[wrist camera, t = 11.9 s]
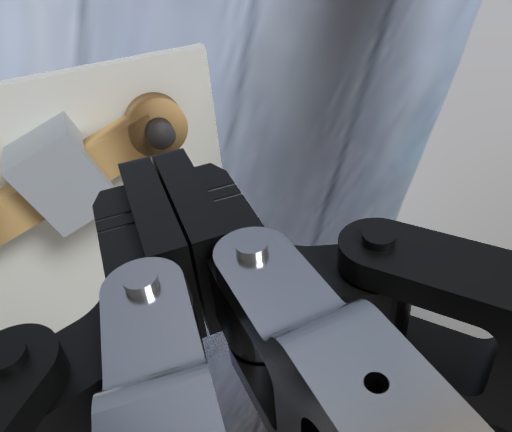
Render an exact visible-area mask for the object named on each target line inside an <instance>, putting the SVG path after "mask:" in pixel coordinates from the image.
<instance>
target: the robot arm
mask: <svg viewBox="0 0 512 432" xmlns="http://www.w3.org/2000/svg"><path fill="white" fill-rule="evenodd" d="M152 162H153V163H152ZM118 167H119V171H120V175H121V178H122V181H123V185H122V186H118V187H114V188H110V189H106V190H102V191H100V192H99V194H98V195H97V197H96V199H95V201H94V203H93V205H92V208H93V213H94V219H95V224H96V230H97V234H98V241H99V247H100V252H101V258H102V263H103V269H104V274H105V280H104V282H103V283H102V285H101V288H100V292H99V301H98V303H97V304H96V305H95V306H94V307H93V308H92V309H91V310H90V311H89V312H88V313H87V314H85V315H84V316H83V317H82V318H80V319H78V320H77V321H75V322H74V323H72V324H70V325H68V326H67V327H65V328H63V329H62V330H60V331H58V332H56V333H54V332H53V331H52V330H51V329H50V328H48V327H47V326H44V325H41V324H35V323H25V324H19V325H15V326H11V327H8V328H5V329H3V330H0V432H225V428H224V424H223V420H222V416H221V413H220V409H219V405H218V401H217V397H216V393H215V390H214V386H213V382H212V378H211V374H210V371H209V367H208V363H207V360H206V355H205V350H204V346H203V341H202V338H204V337H207V333H206V328H205V324H204V320H205V323H206V325H207V328H208V330H209V333H210V335H212V334H215V333H218V332H220V331H223V333H224V335H225V338H226V340H227V342H228V347H229V352H230V358H231V362H232V365H233V367H234V369H235V371H236V373H237V374H238V376H239V378H240V380H241V382H242V384H243V386H244V388H245V390H246V392H247V393H248V395H249V397H250V399H251V401H252V403H253V405H254V407H255V409H256V410H257V412H258V414H259V416H260V418H261V420H262V422H263V424H264V426H265V428H266V429H267V431H268V432H512V250H508V249H504V248H500V247H496V246H492V245H488V244H484V243H481V242H477V241H473V240H468V239H465V238H461V237H457V236H453V235H449V234H445V233H441V232H437V231H433V230H429V229H425V228H422V227H418V226H414V225H410V224H406V223H402V222H398V221H394V220H390V219H385V218H365V219H361V220H357V221H354V222H352V223H350V224H348V225H347V226H346V227H344V228H343V230H342V231H341V232H340V234H339V237H338V244H335V245H322V246H297V245H293V244H292V243H291V242H290V241H289V239H288V238H287V237H286V236H285V235H283V234H282V233H280V232H279V231H276V230H274V229H271V228H266V227H264V226H263V224H262V223H261V221H260V220H259V218H258V217H257V215H256V214H255V212H254V211H253V209H252V208H251V206H250V205H249V204H248V202H247V201H246V199H245V198H244V196H243V195H241V192H240V190H239V189H238V187H237V186H236V185H235V184H234V182H233V180H232V179H231V177H230V176H229V174H228V173H227V171H226V170H224V169H222V168H220V167H218V166H216V165H214V164H212V163H208V164H204V165H200V166H196V167H194V166H193V164H192V162H191V160H190V159H189V157H188V155H187V154H186V152H185V150H184V149H183V148H181V149H177V150H173V151H169V152H164V153H160V154H156V155H152V161H151V158H150V157H149V156H148V157H144V158H140V159H136V160H132V161H128V162H124V163H120V164H118ZM411 305H414V306H417V307H420V308H423V309H426V310H429V311H432V312H435V313H438V314H441V315H444V316H447V317H450V318H453V319H456V320H459V321H462V322H465V323H468V324H471V325H474V326H477V327H480V328H482V329H484V330H486V331H488V332H489V333H490V334H491V335H492V336H493V338H489V339H480V338H476V337H472V336H470V335H467V334H464V333H461V332H458V331H455V330H452V329H449V328H446V327H443V326H440V325H437V324H435V323H431V322H429V321H426V320H423V319H420V318H417V317H414V316H411V315H410V311H411ZM203 318H204V319H203Z"/></svg>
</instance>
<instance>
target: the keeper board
mask: <svg viewBox="0 0 512 432" xmlns="http://www.w3.org/2000/svg"><path fill="white" fill-rule="evenodd" d="M149 92H158V93H163V94H165V95H167V96H169V97H171V98H172V99H173V100H174V101H175V102H176V103H177V105H178V106H179V108H180V109H181V111H182V112H183V114H184V115H185V117H186V119H187V123H188V134H187V137H186V140H185V142H184V143H183V145H182V146H181V147H180V148H179V149H181V148H183V149H184V150H185V152H186V154H187V155H188V157H189V159H190V160H191V162H192V164H193V166H194V167H196V166H200V165H204V164H208V163H212V164H214V165H216V166H218V167H220V168H222V163H221V155H220V148H219V141H218V134H217V126H216V119H215V112H214V105H213V97H212V90H211V83H210V76H209V68H208V61H207V54H206V47H205V46H204V45H203V44H202V43H198V44H192V45H187V46H182V47H176V48H171V49H166V50H160V51H155V52H150V53H144V54H139V55H134V56H128V57H123V58H118V59H112V60H107V61H102V62H96V63H91V64H86V65H80V66H75V67H70V68H64V69H59V70H54V71H48V72H43V73H38V74H32V75H27V76H22V77H16V78H11V79H6V80H0V188H2V187H3V186H5V185H7V184H8V183H9V184H10V185H12V186H13V187H14V188H15V189H16V190H17V191H18V192H19V193H20V194H21V195H22V196H23V197H24V198H25V199H26V200H27V201H28V202H29V203H30V204H31V205H32V206H33V207H34V208H35V209H36V210H37V211H38V212H39V213H40V214H41V215H42V216H43V217H44V218H45V220H44V221H42V222H40V223H39V224H37V225H35V226H34V227H32V228H30V229H29V230H27V231H25V232H24V233H22V234H20V235H19V236H17V237H15V238H14V239H12V240H10V241H8V242H7V243H5V244H3V245H2V246H0V330H3V329H5V328H8V327H11V326H15V325H19V324H25V323H35V324H41V325H44V326H47V327H48V328H50V329H51V330H52V331H53V332H54V333H56V332H58V331H60V330H62V329H63V328H65V327H67V326H68V325H70V324H72V323H74V322H75V321H77V320H78V319H80V318H82V317H83V316H84V315H85V314H87V313H88V312H89V311H90V310H91V309H92V308H93V307H94V306H95V305H96V304H97V303H98V301H99V292H100V288H101V285H102V283H103V282H104V280H105V274H104V269H103V263H102V258H101V252H100V247H99V241H98V234H97V230H96V224H95V219H94V213H93V208H92V205H93V203H94V201H95V199H96V197H97V195H98V194H99V192H100V191H102V190H106V189H110V188H114V187H118V186H122V185H123V181H122V178H121V175H119V176H118V177H116V178H114V179H113V180H111V181H110V180H109V179H108V178H107V176H106V175H105V174H104V173H103V171H102V170H101V169H100V168H99V167H98V165H97V164H96V163H95V162H94V160H93V159H92V158H91V157H90V156H89V154H88V153H87V152H86V151H85V149H84V144H83V139H85V138H86V137H88V136H90V135H92V134H93V133H95V132H97V131H98V130H100V129H102V128H103V127H105V126H107V125H109V124H110V123H112V122H114V121H115V120H117V119H119V118H120V117H122V116H124V115H125V111H126V109H127V107H128V105H129V104H130V103H131V102H132V101H133V100H134V99H135V98H136V97H138V96H140V95H142V94H145V93H149ZM150 158H151V161H152V157H150ZM152 163H153V162H152Z"/></svg>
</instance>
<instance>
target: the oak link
mask: <svg viewBox="0 0 512 432" xmlns="http://www.w3.org/2000/svg"><path fill="white" fill-rule="evenodd" d="M187 134H188V123H187V119H186V117H185V115H184V114H183V112H182V111H181V109H180V108H179V106H178V105H177V103H176V102H175V101H174V100H173V99H172V98H171V97H169V96H167V95H165V94H163V93H158V92H149V93H145V94H142V95H140V96H138V97H136V98H135V99H134V100H133V101H132V102H131V103H130V104H129V105H128V107H127V109H126V111H125V115H124V116H122V117H120V118H119V119H117V120H115V121H114V122H112V123H110V124H109V125H107V126H105V127H103V128H102V129H100V130H98V131H97V132H95V133H93V134H92V135H90V136H88V137H86V138H85V139H83V144H84V149H85V151H86V152H87V153H88V154H89V156H90V157H91V158H92V159H93V160H94V162H95V163H96V164H97V165H98V167H99V168H100V169H101V170H102V171H103V173H104V174H105V175H106V176H107V178H108V179H109V180H110V181H111V180H113V179H114V178H116V177H118V176H119V175H120V171H119V167H118V164H120V163H124V162H128V161H132V160H136V159H140V158H144V157H148V156H149V157H152V155H156V154H160V153H164V152H169V151H173V150H177V149H179V148H180V147H181V146H182V145H183V143H184V142H185V140H186V137H187ZM44 220H45V218H44V217H43V216H42V215H41V214H40V213H39V212H38V211H37V210H36V209H35V208H34V207H33V206H32V205H31V204H30V203H29V202H28V201H27V200H26V199H25V198H24V197H23V196H22V195H21V194H20V193H19V192H18V191H17V190H16V189H15V188H14V187H13V186H12V185H10V184H9V183H8V184H7V185H5V186H3V187H2V188H0V246H2V245H3V244H5V243H7V242H8V241H10V240H12V239H14V238H15V237H17V236H19V235H20V234H22V233H24V232H25V231H27V230H29V229H30V228H32V227H34V226H35V225H37V224H39V223H40V222H42V221H44Z"/></svg>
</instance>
